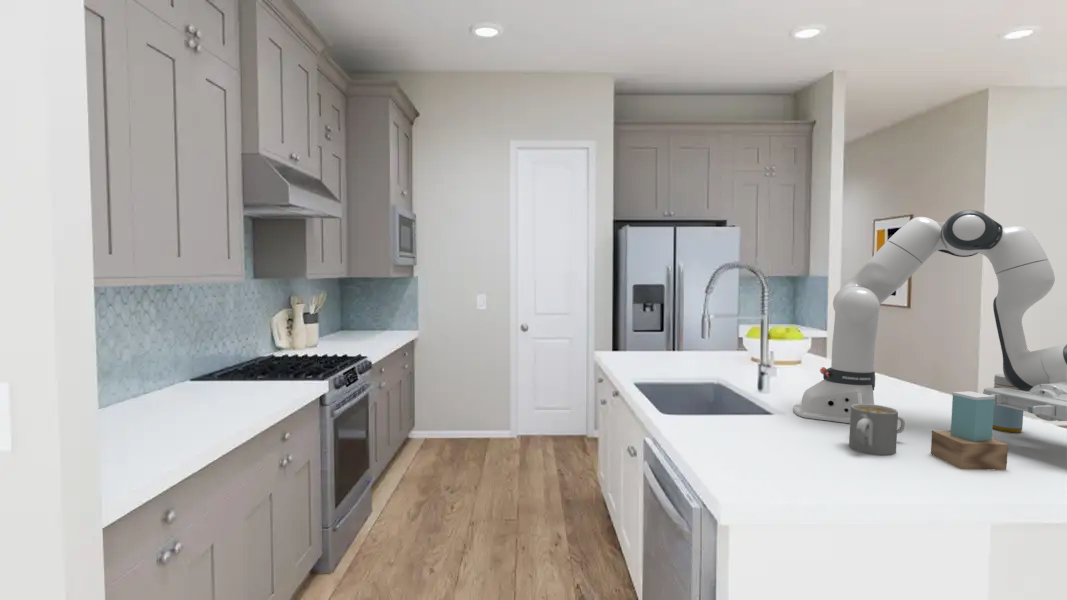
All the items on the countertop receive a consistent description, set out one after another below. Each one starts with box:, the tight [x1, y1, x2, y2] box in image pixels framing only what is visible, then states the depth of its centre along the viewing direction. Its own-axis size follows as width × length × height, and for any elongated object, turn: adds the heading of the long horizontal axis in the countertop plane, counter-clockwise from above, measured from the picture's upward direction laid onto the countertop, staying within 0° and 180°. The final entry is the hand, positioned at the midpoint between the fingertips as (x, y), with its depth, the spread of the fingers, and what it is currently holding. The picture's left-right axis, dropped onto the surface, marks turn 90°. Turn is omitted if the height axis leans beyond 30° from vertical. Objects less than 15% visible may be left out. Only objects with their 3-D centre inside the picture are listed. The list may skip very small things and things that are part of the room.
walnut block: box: [930, 430, 1009, 471], centre depth 133 cm, size 10×10×6 cm
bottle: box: [993, 373, 1024, 433], centre depth 160 cm, size 7×7×15 cm
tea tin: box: [950, 390, 995, 442], centre depth 132 cm, size 6×6×10 cm
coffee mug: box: [848, 404, 899, 456], centre depth 140 cm, size 13×10×10 cm
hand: (1009, 404), depth 136 cm, fingers open, 8 cm apart
